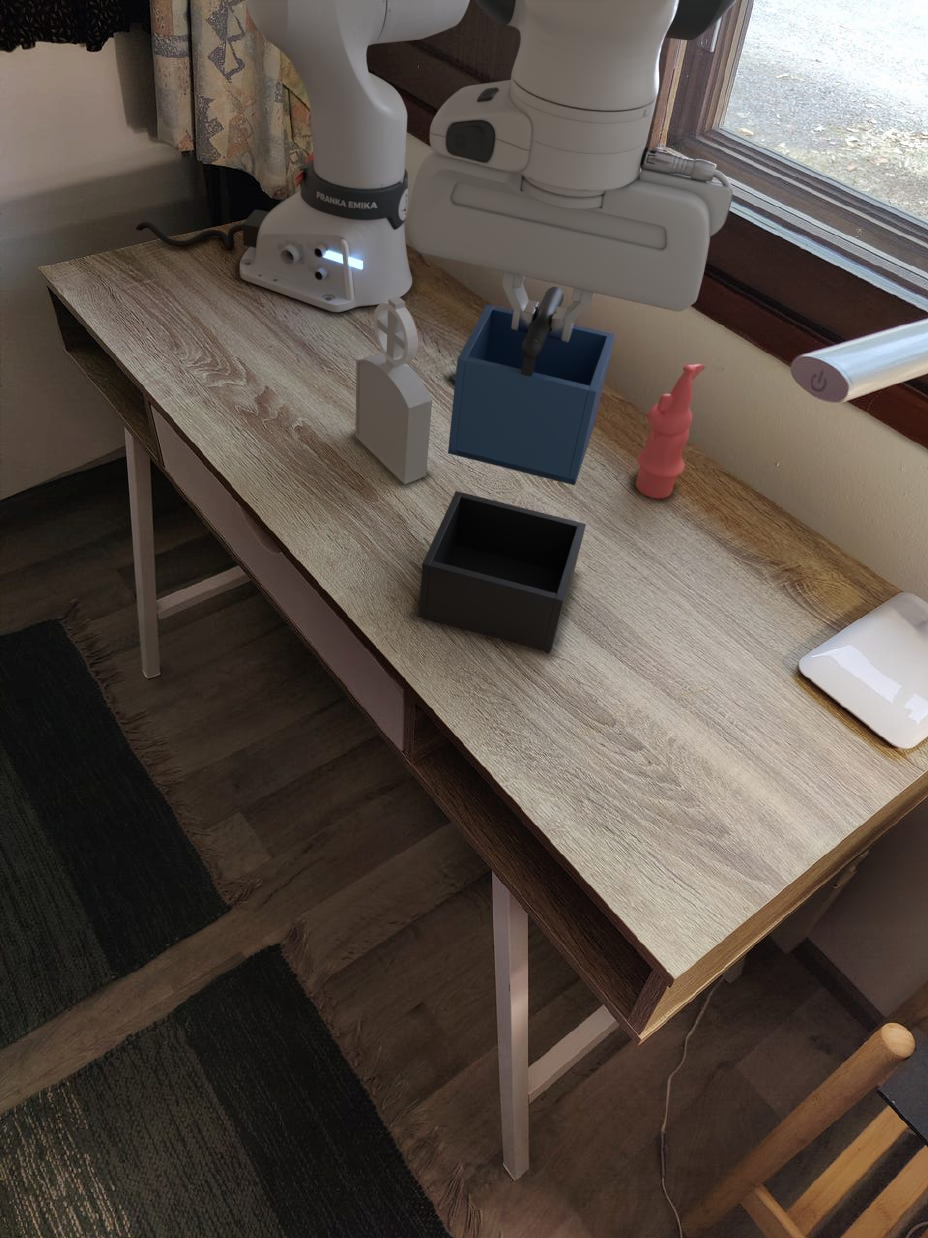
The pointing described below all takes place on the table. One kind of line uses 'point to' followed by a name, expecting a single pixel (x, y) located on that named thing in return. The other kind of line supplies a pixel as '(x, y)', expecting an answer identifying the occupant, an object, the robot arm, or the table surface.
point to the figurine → (667, 437)
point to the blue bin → (528, 393)
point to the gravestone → (394, 396)
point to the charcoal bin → (500, 570)
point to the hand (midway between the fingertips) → (541, 332)
